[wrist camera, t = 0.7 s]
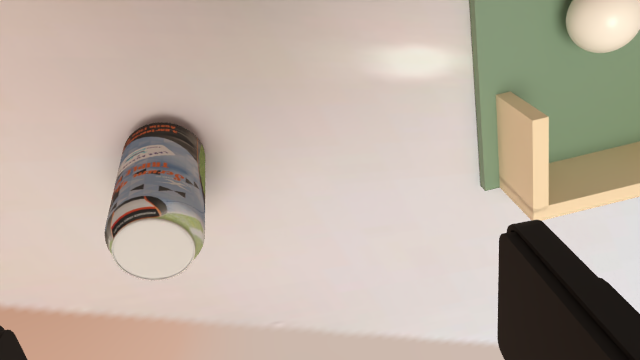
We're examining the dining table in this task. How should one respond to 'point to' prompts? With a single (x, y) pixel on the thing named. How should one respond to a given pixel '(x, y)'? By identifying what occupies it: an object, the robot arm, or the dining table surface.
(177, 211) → the beverage can
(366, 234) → the dining table surface
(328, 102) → the dining table surface
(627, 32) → the ball
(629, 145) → the pitch
